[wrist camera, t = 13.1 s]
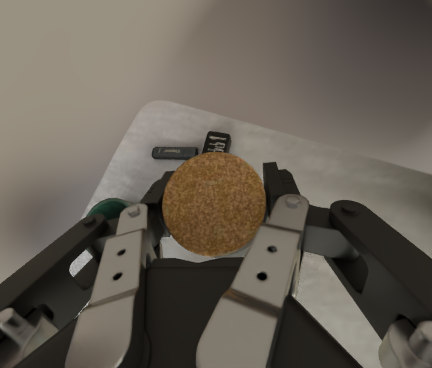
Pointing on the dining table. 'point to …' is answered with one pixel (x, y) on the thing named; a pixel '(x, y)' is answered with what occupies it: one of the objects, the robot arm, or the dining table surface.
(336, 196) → the dining table surface
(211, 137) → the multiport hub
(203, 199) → the cork-stoppered jar
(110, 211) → the canister
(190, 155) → the usb stick
